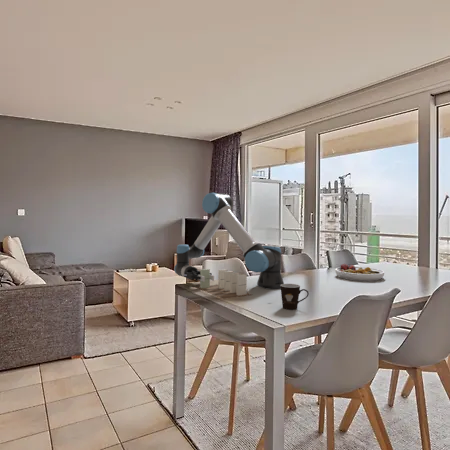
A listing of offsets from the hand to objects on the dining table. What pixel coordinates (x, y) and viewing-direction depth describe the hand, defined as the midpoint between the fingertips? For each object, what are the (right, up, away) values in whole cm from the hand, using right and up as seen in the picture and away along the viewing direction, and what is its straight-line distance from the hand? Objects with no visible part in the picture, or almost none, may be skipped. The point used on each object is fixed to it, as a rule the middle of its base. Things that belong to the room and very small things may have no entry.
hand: (208, 278), depth 198 cm
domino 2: (+8, -6, +3) cm, 10 cm away
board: (+7, -7, -4) cm, 11 cm away
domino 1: (-2, -6, +4) cm, 7 cm away
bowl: (+97, -6, +43) cm, 106 cm away
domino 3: (+11, -6, -2) cm, 13 cm away
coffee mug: (+39, -8, -36) cm, 53 cm away
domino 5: (+17, -6, -12) cm, 22 cm away
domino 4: (+14, -6, -7) cm, 17 cm away
